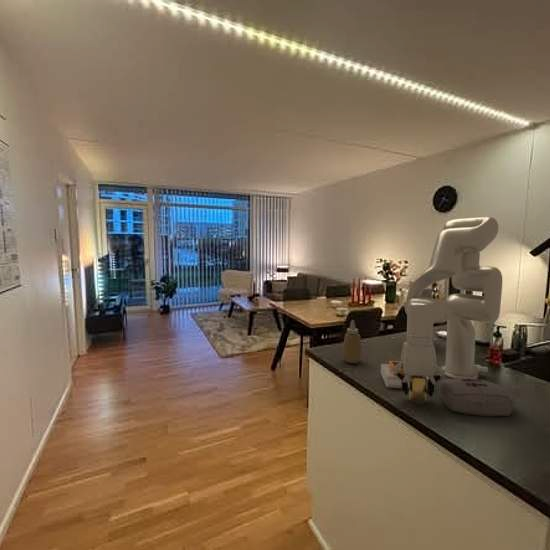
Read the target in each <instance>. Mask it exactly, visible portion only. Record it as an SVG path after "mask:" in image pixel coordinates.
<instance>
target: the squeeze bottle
mask: <svg viewBox="0 0 550 550" xmlns="http://www.w3.org/2000/svg"><path fill="white" fill-rule="evenodd" d="M361 339H362V338H361V335H360V334H359V329H358V328H356V324H355V320H351V321H350V325H349V327H348V328H347V329H346V333H345V334H344V339H343V347H342V355H343V357H344V360H345V362H347V363H349V364H358V363H359V362H360V360H361V357H362V355H363V352H362V351H363V350H362V341H361Z"/></svg>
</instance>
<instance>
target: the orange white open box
mask: <svg viewBox="0 0 550 550" xmlns="http://www.w3.org/2000/svg"><path fill="white" fill-rule="evenodd" d="M399 362H401V360H398V361H397V360H388V363H381V364H380V375H381V377H382V380H383V382H384V384H385V386H386V388H389V389H390V388H393V389H402V380H401V379H400V378H399V377H398V376H397V375H396V374H395V373H394V371H393V370H392V368H393V367H394V366H395V365H397V364H398V363H399ZM398 371H399V372H400V373H401V374H402V373H403V370H402V369H401V368H400V369H399V370H398ZM426 377H427V381H428V380H429V378H428V376H426ZM409 380H410V376H409V378H408V380H407V382H408V390H409ZM426 391H427V382H426Z"/></svg>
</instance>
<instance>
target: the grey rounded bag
mask: <svg viewBox="0 0 550 550" xmlns="http://www.w3.org/2000/svg"><path fill="white" fill-rule="evenodd" d="M438 392H439V396H440V399H441V401H442V403H443V404H444V406H446V408H447V409H448V410H450V411H451V412H455V413H460V414H463V413H464V414H463V415H469V414H472V415H471V416H478V415H480V416H481V417H504V416H506V417H507V416H510V415H511V414H512V413H513V411H514V408H515V406H516V404H517V402H516V399H515V397H514V396H513V394H512V393H511V392H510V391H509V390H508V389H506V388H504V387H503V386H500V385H499V384H497V383H494V382H493V381H492V382H491V381H487V380H484V379H478V378H477V379H470V378H466V379H455V378H449V379H440V380H439V384H438Z"/></svg>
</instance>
